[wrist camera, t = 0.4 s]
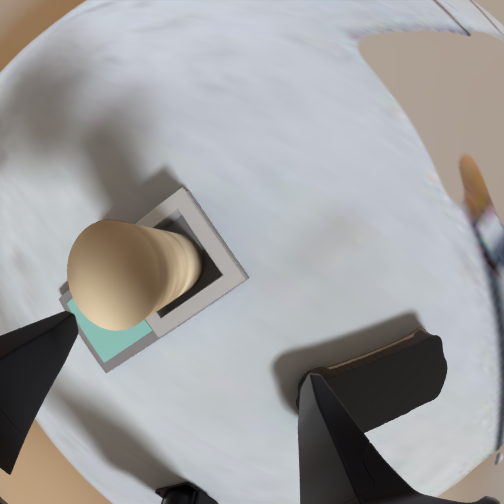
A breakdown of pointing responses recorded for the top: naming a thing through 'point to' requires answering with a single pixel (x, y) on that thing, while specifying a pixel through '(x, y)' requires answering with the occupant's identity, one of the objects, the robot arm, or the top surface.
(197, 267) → the maple post
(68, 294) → the jig board
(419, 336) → the black sponge
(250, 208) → the top surface
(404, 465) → the top surface
